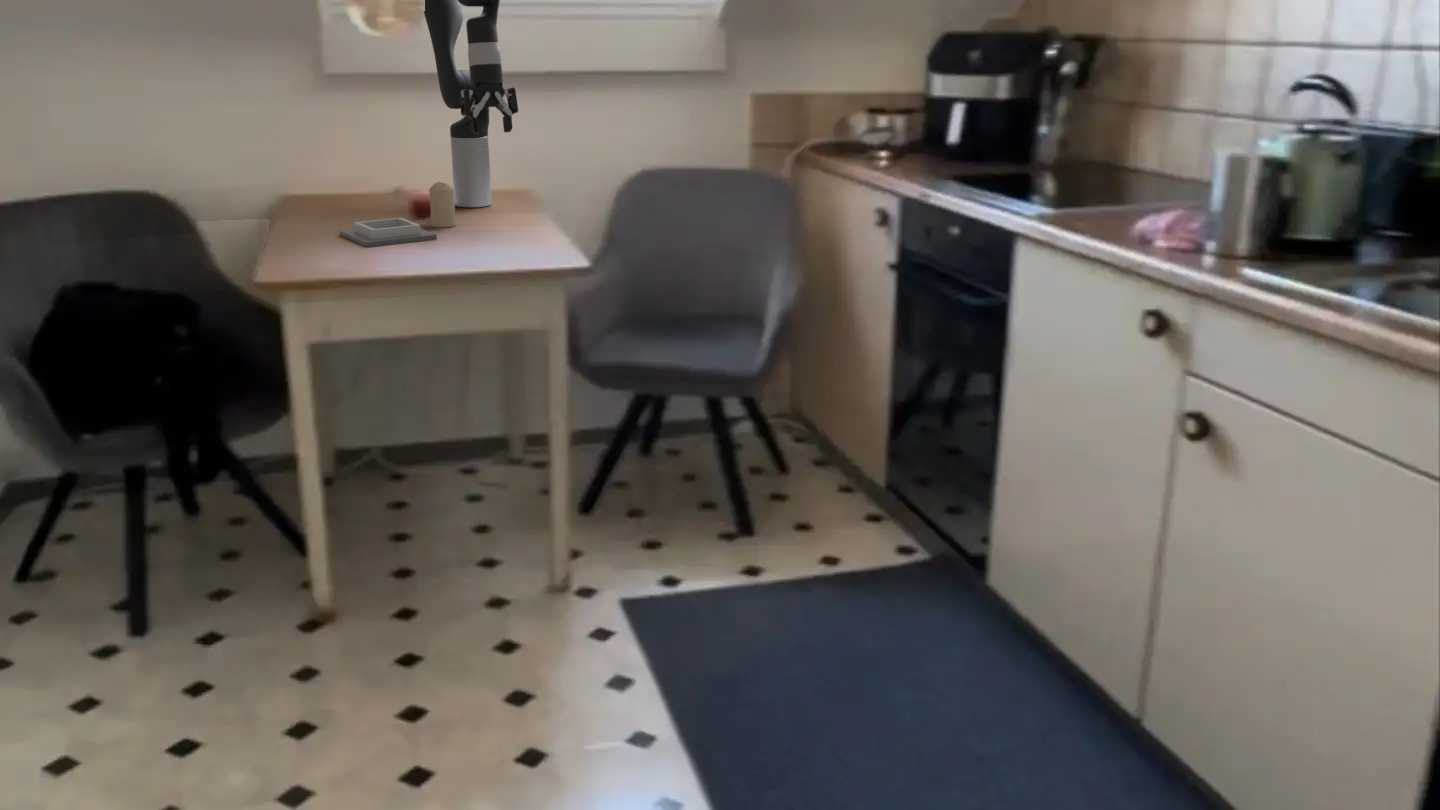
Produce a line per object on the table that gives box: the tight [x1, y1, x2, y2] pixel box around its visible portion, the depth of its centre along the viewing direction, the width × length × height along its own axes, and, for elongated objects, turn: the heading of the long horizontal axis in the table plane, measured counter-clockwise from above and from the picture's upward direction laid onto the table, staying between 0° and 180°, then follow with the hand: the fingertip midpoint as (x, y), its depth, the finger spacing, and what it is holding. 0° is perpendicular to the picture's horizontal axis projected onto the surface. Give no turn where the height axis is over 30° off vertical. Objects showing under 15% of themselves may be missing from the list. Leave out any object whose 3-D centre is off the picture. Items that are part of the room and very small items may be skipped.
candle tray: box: [339, 217, 438, 248], centre depth 275 cm, size 16×16×3 cm
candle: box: [428, 181, 457, 229], centre depth 287 cm, size 6×6×10 cm
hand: (492, 133), depth 298 cm, fingers open, 8 cm apart
